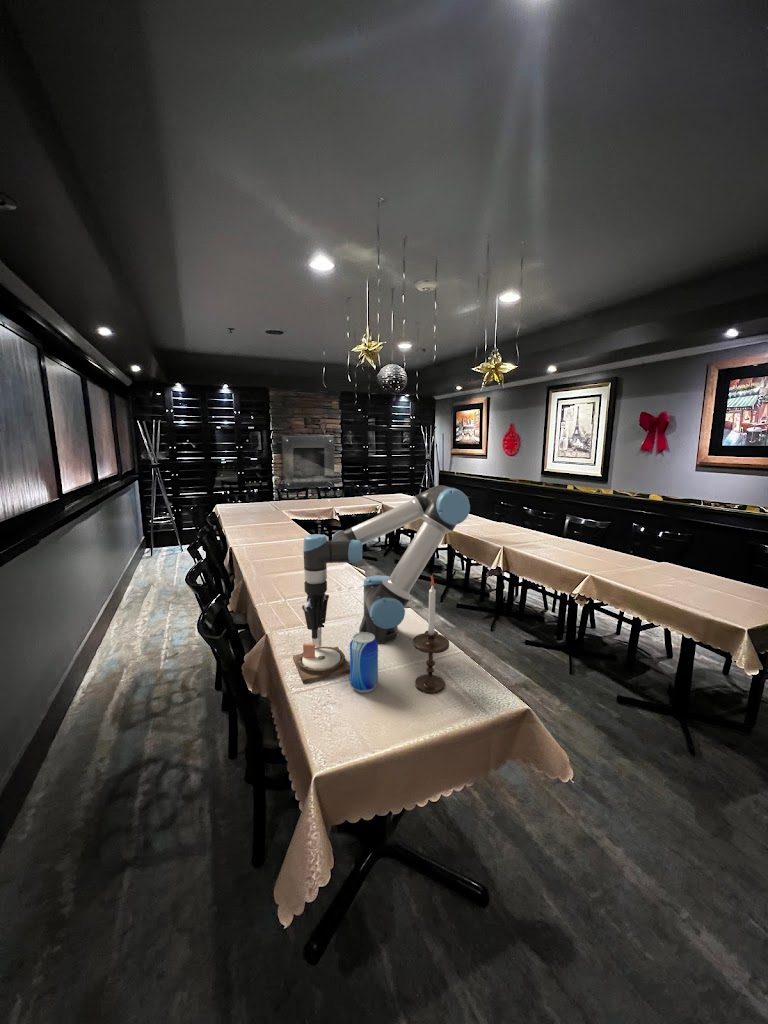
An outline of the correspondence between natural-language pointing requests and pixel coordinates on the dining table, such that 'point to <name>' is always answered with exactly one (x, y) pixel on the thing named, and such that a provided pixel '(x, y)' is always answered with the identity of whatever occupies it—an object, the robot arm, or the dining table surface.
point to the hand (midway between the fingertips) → (317, 645)
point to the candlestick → (430, 650)
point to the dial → (319, 657)
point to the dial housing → (319, 674)
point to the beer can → (364, 662)
